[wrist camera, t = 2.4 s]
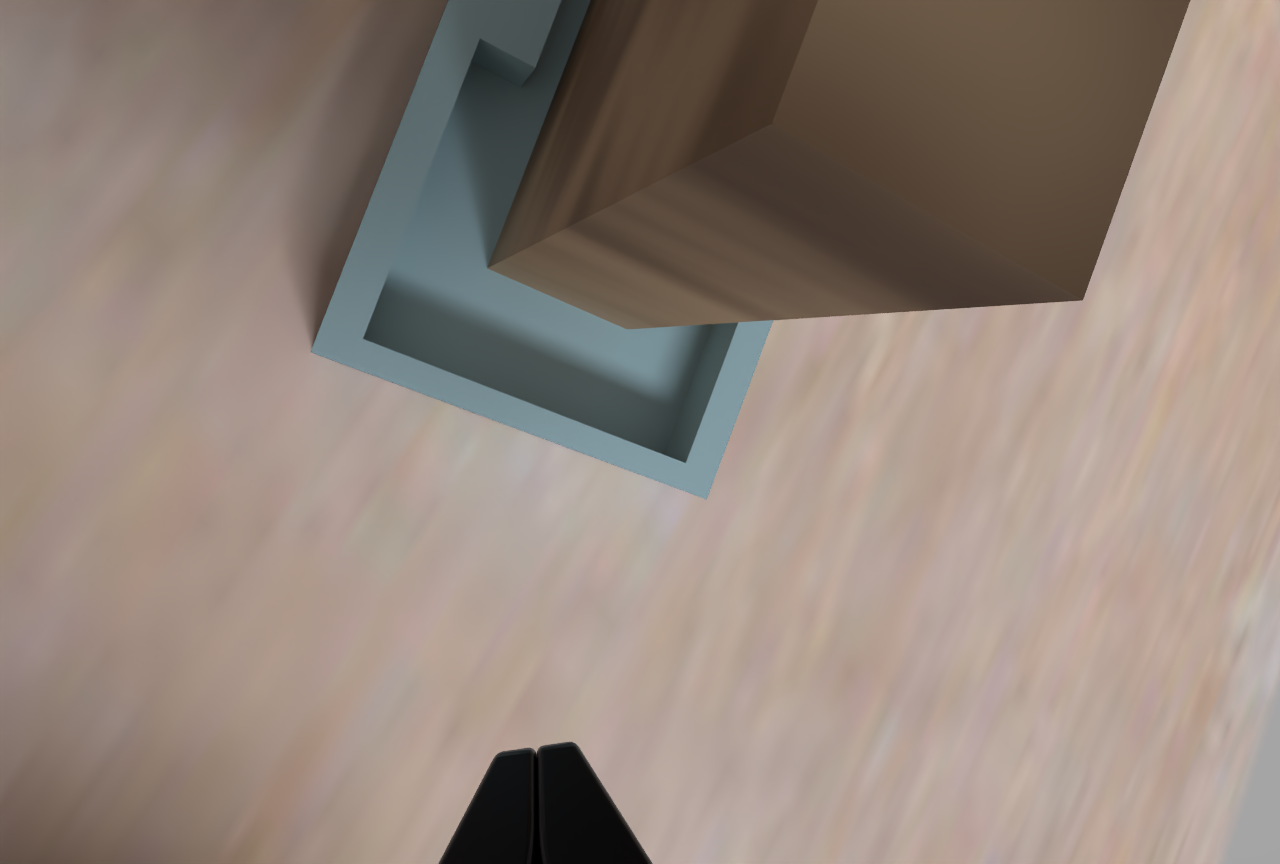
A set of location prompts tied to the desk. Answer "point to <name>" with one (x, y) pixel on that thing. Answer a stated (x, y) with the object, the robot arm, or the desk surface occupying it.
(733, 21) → the brown wooden block
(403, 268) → the slot base
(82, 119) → the desk surface
